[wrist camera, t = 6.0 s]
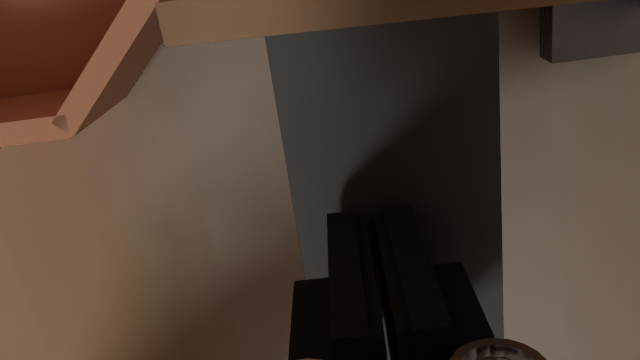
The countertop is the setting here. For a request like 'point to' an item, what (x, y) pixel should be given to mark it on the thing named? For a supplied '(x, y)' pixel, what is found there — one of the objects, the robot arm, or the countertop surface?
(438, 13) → the trough
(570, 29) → the stand
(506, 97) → the countertop surface
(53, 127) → the pink octagonal bowl
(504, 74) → the countertop surface
